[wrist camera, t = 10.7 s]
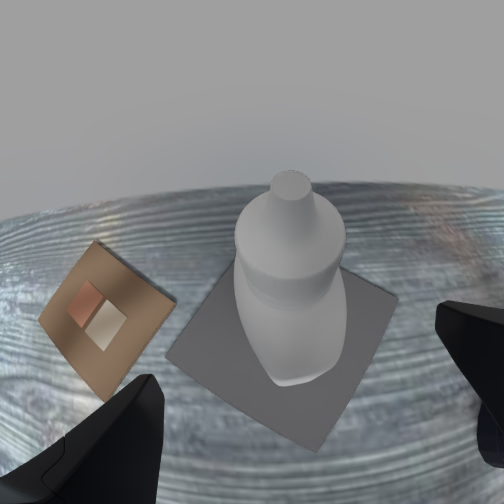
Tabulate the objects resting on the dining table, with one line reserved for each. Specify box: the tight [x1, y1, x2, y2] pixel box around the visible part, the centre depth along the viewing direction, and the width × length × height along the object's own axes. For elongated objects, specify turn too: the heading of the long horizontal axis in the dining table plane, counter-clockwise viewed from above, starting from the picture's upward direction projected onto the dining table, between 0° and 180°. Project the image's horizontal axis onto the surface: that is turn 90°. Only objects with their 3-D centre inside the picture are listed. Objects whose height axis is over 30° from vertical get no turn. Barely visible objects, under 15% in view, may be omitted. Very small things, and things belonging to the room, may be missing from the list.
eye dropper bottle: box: [234, 171, 347, 387], centre depth 10 cm, size 4×6×12 cm
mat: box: [165, 260, 399, 453], centre depth 16 cm, size 10×10×1 cm
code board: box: [38, 241, 176, 403], centre depth 17 cm, size 9×8×1 cm
